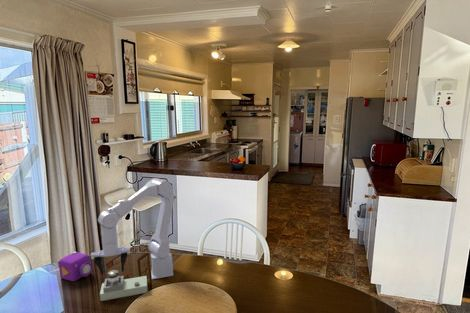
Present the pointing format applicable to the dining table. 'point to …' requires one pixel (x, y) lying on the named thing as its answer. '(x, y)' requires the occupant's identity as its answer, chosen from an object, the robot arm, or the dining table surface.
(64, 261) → the toy camera
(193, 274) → the dining table surface
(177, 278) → the dining table surface
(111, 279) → the lens
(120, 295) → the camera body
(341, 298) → the dining table surface
